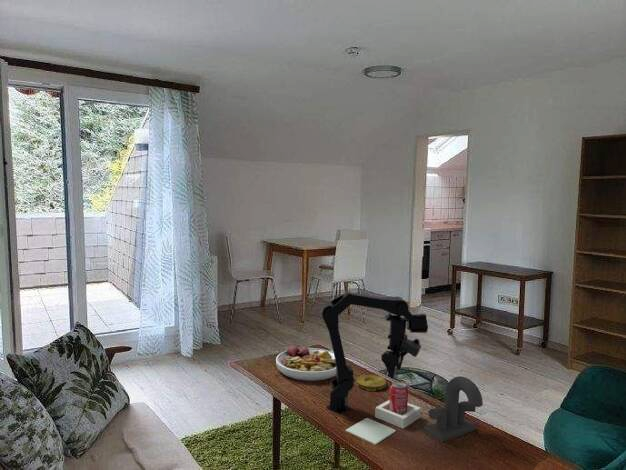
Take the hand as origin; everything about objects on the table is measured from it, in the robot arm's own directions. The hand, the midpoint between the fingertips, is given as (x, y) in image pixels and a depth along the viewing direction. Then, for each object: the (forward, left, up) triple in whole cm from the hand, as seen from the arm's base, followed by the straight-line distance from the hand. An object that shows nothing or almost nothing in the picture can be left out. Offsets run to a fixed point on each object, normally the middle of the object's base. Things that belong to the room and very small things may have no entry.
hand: (395, 373), depth 172 cm
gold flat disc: (+12, +18, -14) cm, 26 cm away
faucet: (0, -26, -14) cm, 29 cm away
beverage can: (-4, -5, -14) cm, 15 cm away
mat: (-19, -4, -13) cm, 24 cm away
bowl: (+6, +47, -14) cm, 50 cm away
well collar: (-4, -5, -13) cm, 15 cm away
